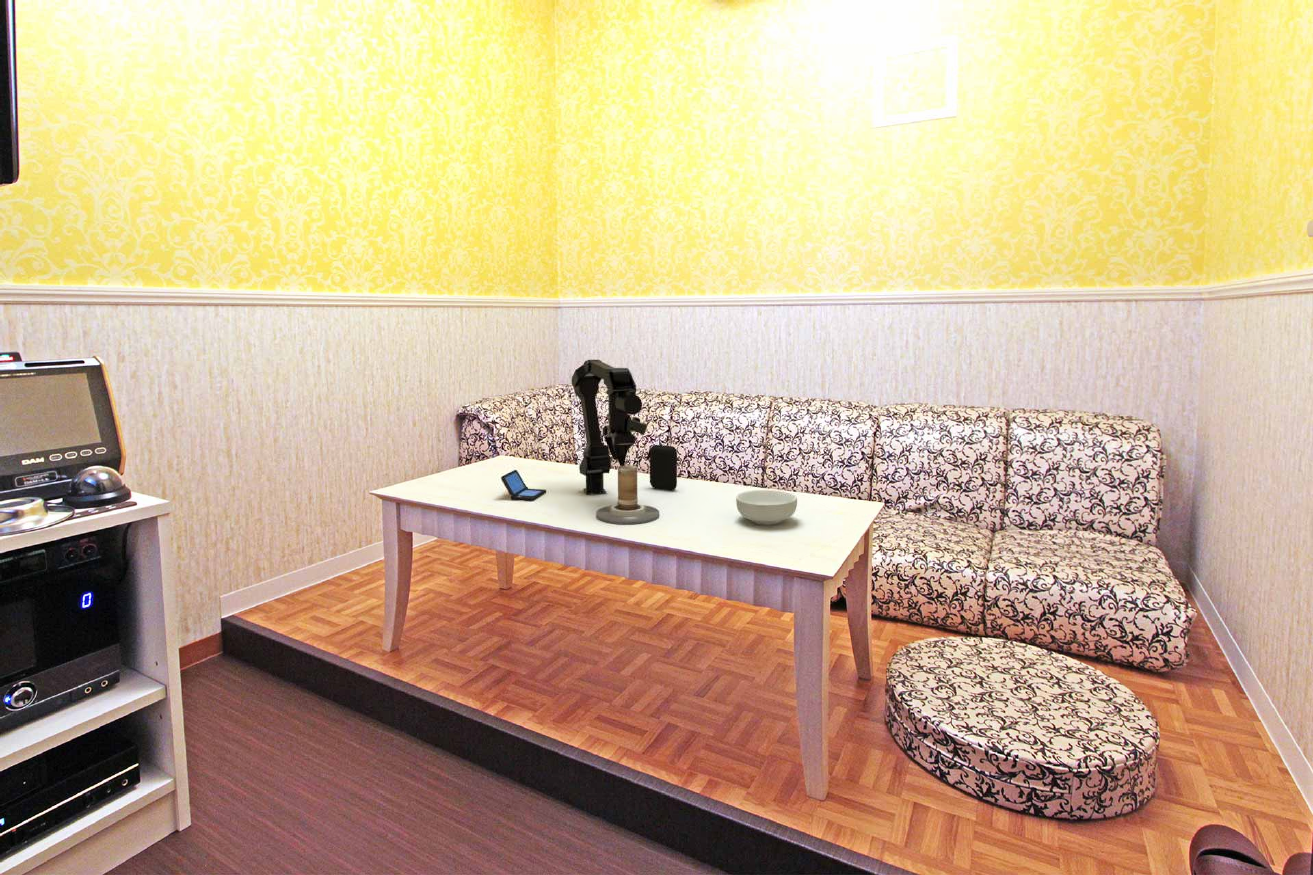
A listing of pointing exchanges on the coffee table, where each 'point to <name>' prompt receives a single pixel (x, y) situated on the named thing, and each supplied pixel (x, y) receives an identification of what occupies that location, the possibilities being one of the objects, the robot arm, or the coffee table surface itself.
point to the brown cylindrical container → (627, 488)
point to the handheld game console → (520, 487)
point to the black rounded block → (663, 467)
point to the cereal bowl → (766, 506)
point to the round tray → (627, 515)
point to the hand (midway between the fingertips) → (618, 462)
